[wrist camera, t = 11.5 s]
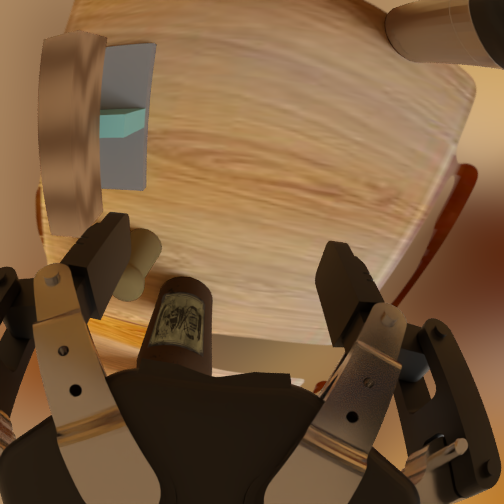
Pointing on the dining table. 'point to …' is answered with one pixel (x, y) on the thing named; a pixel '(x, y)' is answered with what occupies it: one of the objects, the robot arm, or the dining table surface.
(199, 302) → the olive oil
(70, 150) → the walnut bar
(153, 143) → the dining table surface
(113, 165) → the balance stand
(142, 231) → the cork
